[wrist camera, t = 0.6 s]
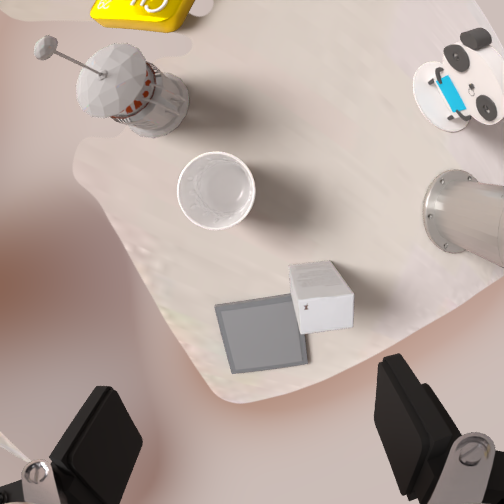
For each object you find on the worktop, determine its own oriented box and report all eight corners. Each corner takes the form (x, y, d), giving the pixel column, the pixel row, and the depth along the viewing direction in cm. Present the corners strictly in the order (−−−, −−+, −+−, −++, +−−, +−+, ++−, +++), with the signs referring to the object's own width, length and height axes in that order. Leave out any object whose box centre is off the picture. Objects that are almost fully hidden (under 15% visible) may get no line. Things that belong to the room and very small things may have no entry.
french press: (141, 65, 35) (33, -11, 11) (213, 86, 36) (148, -12, 12) (113, 126, 38) (-20, 101, 14) (183, 152, 38) (74, 132, 14)
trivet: (298, 292, 43) (299, 294, 42) (307, 361, 46) (307, 364, 45) (215, 304, 44) (214, 307, 43) (232, 370, 47) (231, 374, 46)
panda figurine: (396, 71, 34) (449, 35, 19) (444, 50, 32) (499, 20, 18) (437, 143, 36) (503, 137, 22) (481, 116, 34) (544, 107, 20)
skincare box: (290, 293, 43) (298, 335, 31) (287, 264, 42) (296, 299, 30) (332, 288, 42) (354, 328, 31) (331, 259, 41) (355, 292, 30)
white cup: (227, 228, 41) (215, 246, 31) (185, 186, 40) (161, 191, 30) (270, 187, 39) (272, 192, 30) (228, 144, 38) (216, 135, 28)
